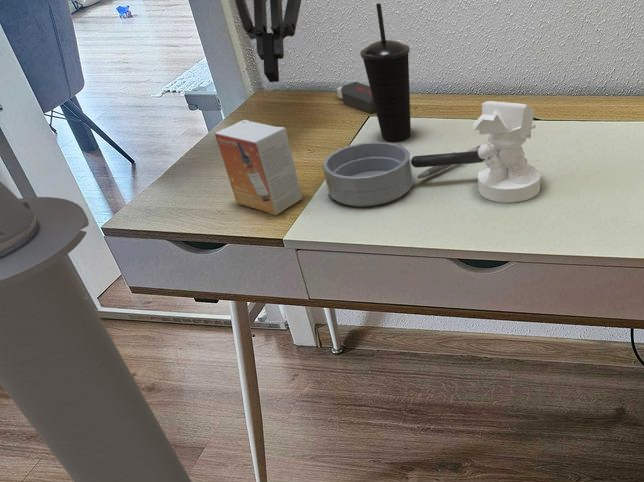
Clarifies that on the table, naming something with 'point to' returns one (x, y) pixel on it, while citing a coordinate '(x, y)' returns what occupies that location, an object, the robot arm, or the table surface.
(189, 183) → the table surface
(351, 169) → the pan
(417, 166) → the pan handle
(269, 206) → the small box
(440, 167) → the pen
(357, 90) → the usb drive
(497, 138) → the character figurine
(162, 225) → the table surface
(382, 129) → the drinking cup
